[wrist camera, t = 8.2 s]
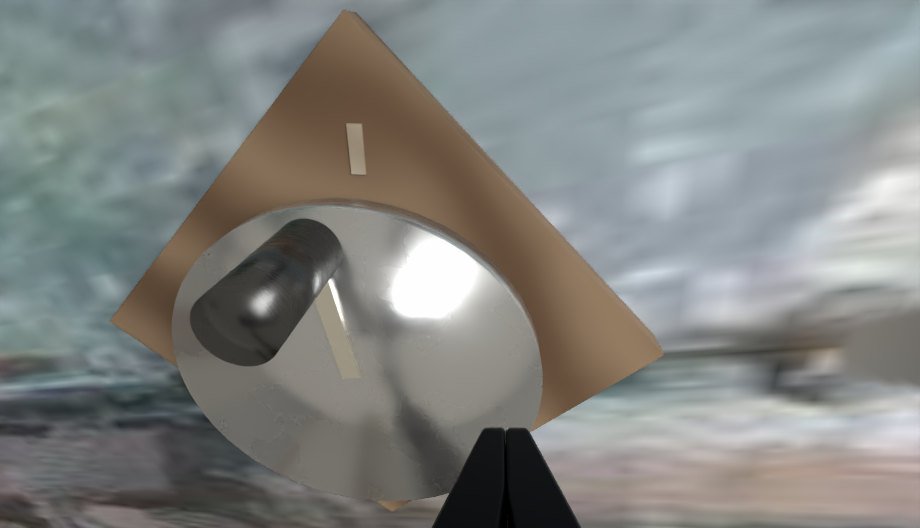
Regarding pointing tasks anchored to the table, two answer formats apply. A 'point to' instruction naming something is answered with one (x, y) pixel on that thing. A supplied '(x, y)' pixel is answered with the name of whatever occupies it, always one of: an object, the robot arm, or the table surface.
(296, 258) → the handwheel
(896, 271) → the table surface
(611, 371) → the base plate
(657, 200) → the table surface
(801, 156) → the table surface
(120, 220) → the table surface
